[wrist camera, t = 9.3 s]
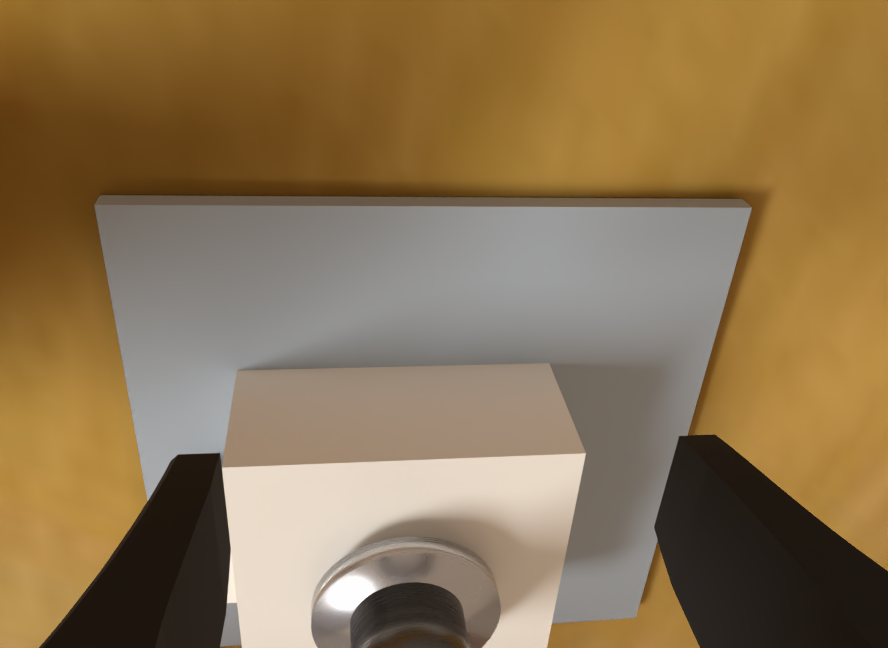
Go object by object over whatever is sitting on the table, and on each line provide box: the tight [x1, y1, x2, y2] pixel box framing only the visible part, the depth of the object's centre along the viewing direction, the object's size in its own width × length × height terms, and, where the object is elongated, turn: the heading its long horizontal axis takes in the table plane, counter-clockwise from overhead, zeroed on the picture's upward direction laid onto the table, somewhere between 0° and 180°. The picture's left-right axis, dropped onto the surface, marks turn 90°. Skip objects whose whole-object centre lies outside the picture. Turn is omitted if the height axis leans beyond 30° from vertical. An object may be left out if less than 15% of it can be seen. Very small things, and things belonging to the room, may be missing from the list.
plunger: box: [311, 537, 501, 648], centre depth 22 cm, size 5×5×8 cm
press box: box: [222, 363, 586, 648], centre depth 24 cm, size 9×11×4 cm
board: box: [94, 195, 752, 647], centre depth 26 cm, size 17×17×1 cm
